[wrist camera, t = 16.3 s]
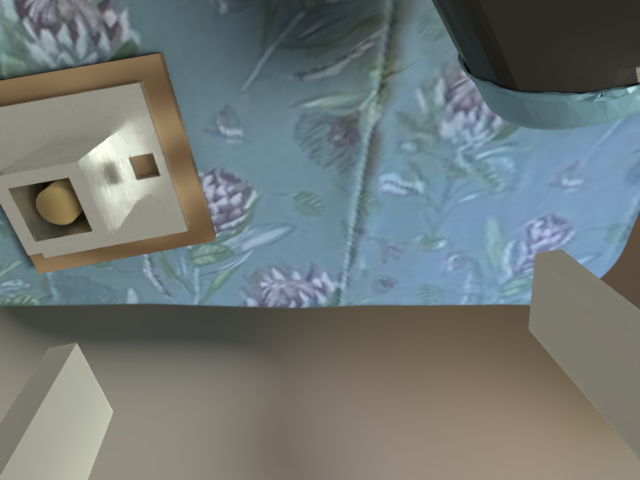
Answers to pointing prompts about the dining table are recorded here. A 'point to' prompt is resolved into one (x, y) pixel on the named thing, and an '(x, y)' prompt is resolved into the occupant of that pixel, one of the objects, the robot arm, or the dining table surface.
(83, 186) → the flange
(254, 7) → the dining table surface
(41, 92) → the post board
